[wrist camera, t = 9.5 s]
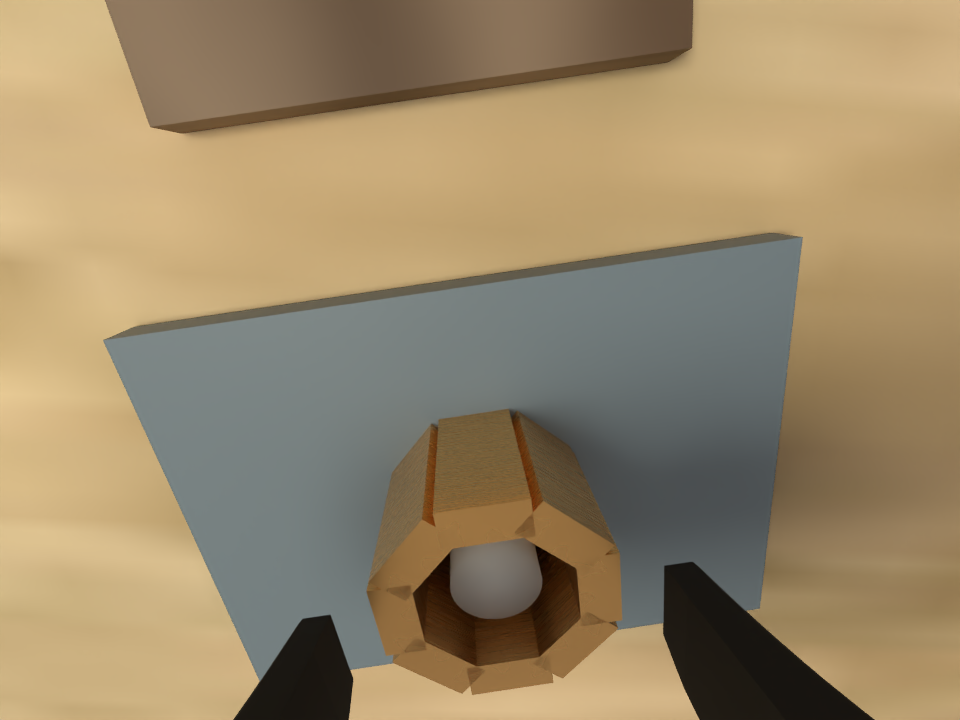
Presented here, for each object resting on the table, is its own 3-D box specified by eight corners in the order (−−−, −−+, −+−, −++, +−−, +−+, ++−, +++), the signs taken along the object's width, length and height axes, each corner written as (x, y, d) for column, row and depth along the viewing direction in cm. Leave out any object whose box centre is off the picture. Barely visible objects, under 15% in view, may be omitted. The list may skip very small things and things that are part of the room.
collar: (569, 399, 13) (617, 486, 9) (581, 549, 15) (624, 671, 11) (377, 428, 13) (346, 527, 9) (414, 575, 15) (401, 705, 11)
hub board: (771, 233, 13) (928, 254, 8) (739, 581, 17) (831, 706, 13) (134, 326, 13) (-25, 395, 8) (273, 651, 17) (215, 799, 13)
